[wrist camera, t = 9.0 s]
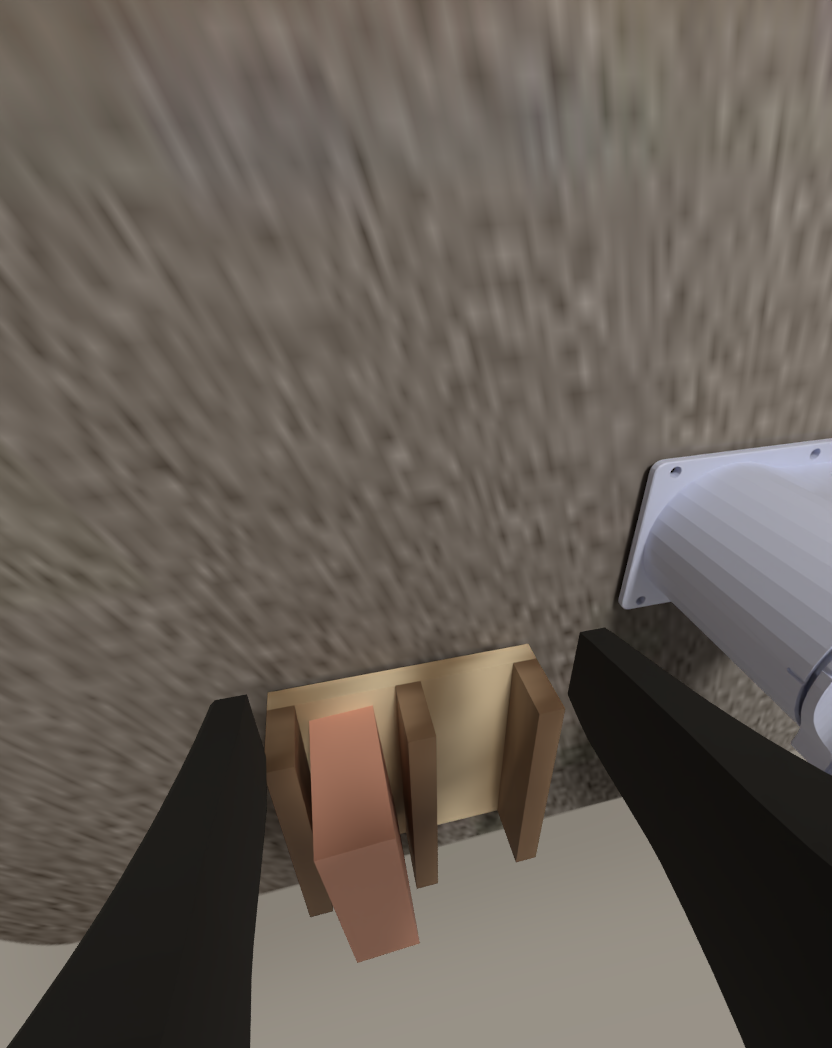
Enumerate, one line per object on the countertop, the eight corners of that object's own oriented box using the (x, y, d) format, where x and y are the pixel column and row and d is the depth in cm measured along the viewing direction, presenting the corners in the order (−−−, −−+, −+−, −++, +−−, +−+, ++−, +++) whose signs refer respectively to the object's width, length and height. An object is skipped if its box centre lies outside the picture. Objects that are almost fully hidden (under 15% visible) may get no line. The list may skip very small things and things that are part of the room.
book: (372, 705, 23) (395, 838, 18) (397, 816, 28) (419, 943, 23) (308, 720, 23) (313, 861, 17) (345, 830, 28) (357, 962, 23)
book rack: (527, 643, 25) (565, 708, 21) (509, 790, 31) (535, 857, 28) (267, 692, 22) (263, 773, 19) (308, 838, 29) (310, 917, 26)
